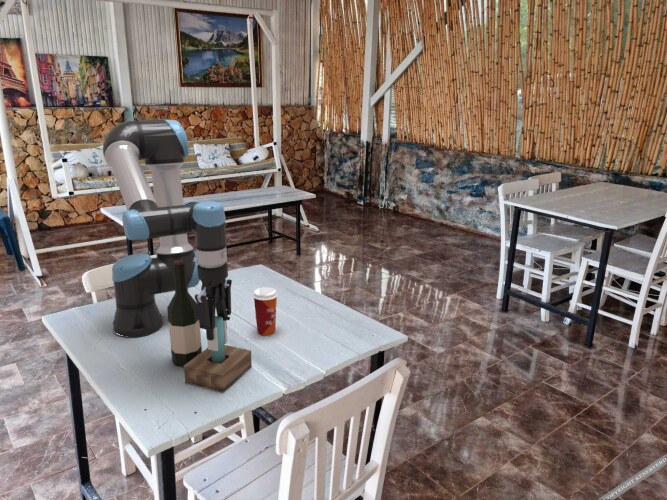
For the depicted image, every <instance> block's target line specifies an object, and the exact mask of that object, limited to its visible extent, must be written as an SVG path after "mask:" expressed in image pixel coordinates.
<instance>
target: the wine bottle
mask: <svg viewBox="0 0 667 500" xmlns="http://www.w3.org/2000/svg"><path fill="white" fill-rule="evenodd" d="M173 274H174V285H175V291H174V294H173V296H172V298H171V300H170V302H169V304H168V306H166V307H167V308H166V311H167V319H168V320H167V321H168V322H167V323H168V331H169V341H170V351H171V361H172V363H173V364H174V365H175V367H180V368H184V365H186V364H187V363H188V362H190V361H191V360H192V359H193V358H195V357H196V356H197V355H199V354H200V353H201V352H203V350H202V347H203V346H202V335H201V328H200V324H199V316H198V307H197V302H196V300H195V298H193V296H192V295H191V294H190V293H189V288H188V285H187V273H186V263H184V261H183V260H175V261H174V264H173Z"/></svg>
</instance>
